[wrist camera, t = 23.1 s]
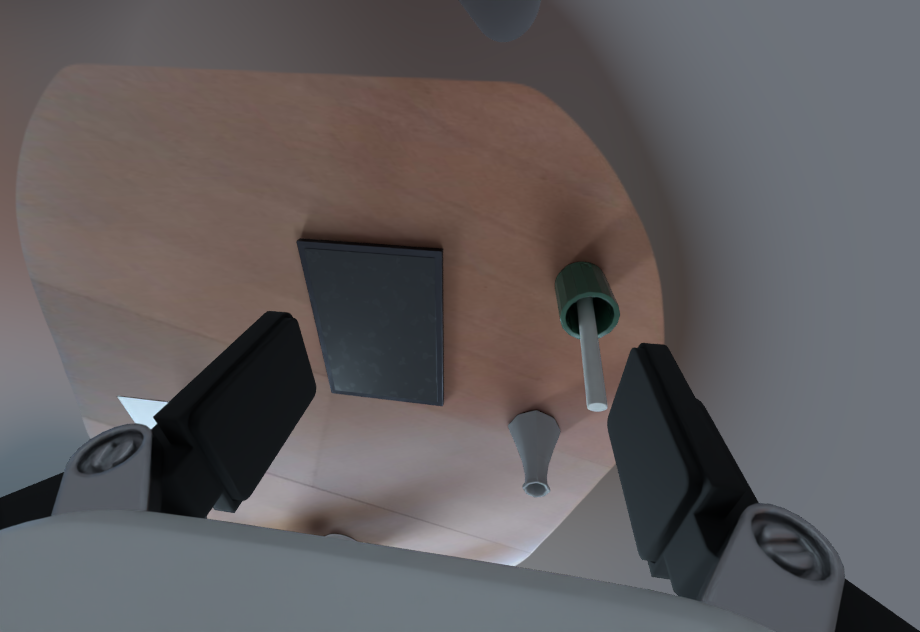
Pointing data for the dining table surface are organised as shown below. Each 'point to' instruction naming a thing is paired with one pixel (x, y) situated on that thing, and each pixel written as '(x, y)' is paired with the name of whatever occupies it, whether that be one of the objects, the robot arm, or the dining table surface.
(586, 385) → the stylus
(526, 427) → the flask
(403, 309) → the tablet
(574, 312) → the pen holder
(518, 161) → the dining table surface
